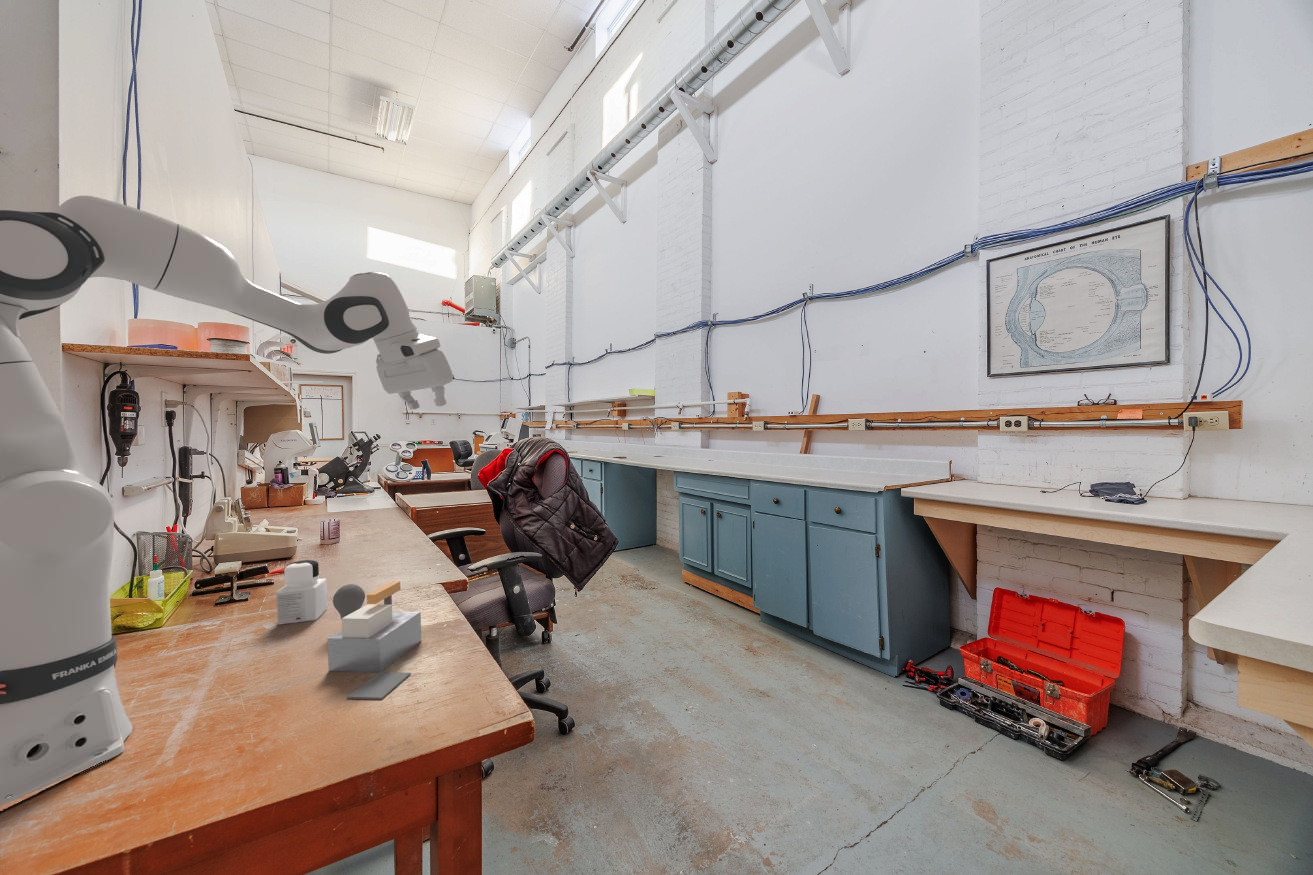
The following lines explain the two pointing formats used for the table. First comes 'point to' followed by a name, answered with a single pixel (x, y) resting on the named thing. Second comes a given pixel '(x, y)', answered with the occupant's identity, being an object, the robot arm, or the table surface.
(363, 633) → the cream white box
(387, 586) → the t key
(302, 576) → the container
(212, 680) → the table surface
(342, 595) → the light bulb
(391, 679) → the mat
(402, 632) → the box
